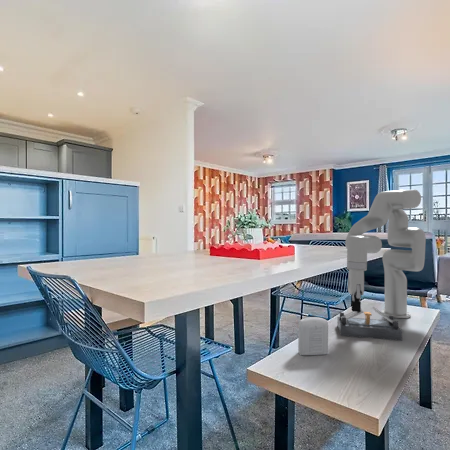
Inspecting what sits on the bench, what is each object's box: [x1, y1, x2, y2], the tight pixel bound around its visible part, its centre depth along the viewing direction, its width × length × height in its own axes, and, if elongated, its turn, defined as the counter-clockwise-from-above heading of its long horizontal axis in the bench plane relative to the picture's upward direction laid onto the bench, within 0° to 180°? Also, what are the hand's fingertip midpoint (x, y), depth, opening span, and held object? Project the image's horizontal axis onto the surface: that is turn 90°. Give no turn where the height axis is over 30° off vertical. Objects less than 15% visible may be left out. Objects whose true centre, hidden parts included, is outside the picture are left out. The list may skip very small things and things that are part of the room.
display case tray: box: [336, 311, 403, 341], centre depth 127 cm, size 12×22×8 cm, turn 76°
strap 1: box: [341, 308, 364, 320], centre depth 128 cm, size 9×5×1 cm, turn 76°
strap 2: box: [372, 306, 395, 324], centre depth 125 cm, size 9×5×1 cm
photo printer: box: [297, 316, 329, 356], centre depth 107 cm, size 10×4×12 cm, turn 98°
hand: (355, 310), depth 127 cm, fingers closed
